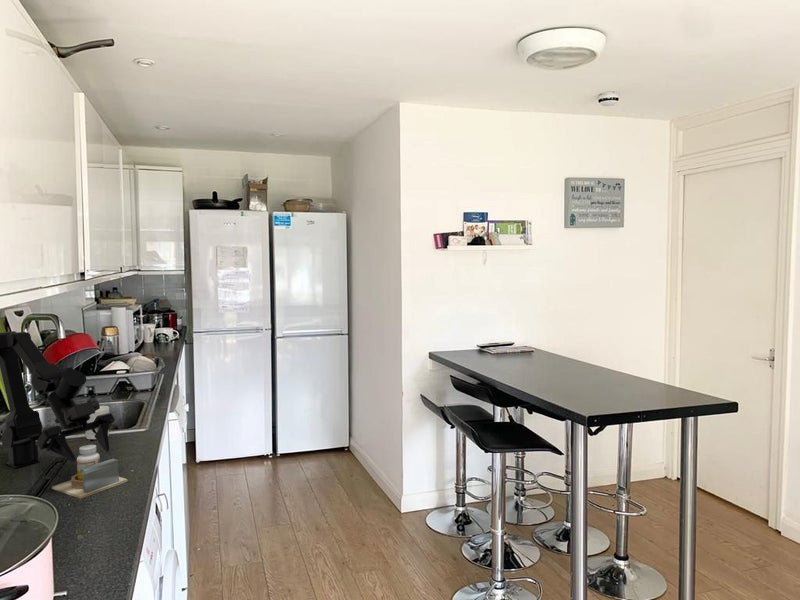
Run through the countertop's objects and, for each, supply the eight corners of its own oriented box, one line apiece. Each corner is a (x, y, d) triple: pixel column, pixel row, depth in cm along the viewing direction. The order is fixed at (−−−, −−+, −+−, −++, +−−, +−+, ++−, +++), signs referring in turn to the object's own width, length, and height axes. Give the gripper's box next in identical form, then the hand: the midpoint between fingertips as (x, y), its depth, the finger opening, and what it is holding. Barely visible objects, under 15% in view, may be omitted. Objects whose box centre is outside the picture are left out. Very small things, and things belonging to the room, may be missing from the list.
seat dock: (51, 488, 156) (50, 464, 155) (99, 472, 167) (97, 450, 166) (80, 498, 149) (78, 473, 149) (127, 481, 160) (126, 458, 160)
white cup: (116, 435, 201) (114, 406, 200) (97, 442, 194) (95, 412, 193) (97, 433, 204) (96, 405, 203) (78, 440, 196) (76, 410, 195)
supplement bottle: (89, 478, 161) (87, 442, 161) (105, 480, 160) (103, 444, 159) (73, 485, 156) (71, 449, 156) (89, 487, 155) (87, 451, 154)
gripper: (40, 398, 150) (67, 448, 145) (109, 384, 166) (136, 428, 161) (25, 424, 155) (51, 473, 150) (94, 408, 171) (119, 452, 166)
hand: (91, 455), depth 157 cm, fingers open, 9 cm apart
